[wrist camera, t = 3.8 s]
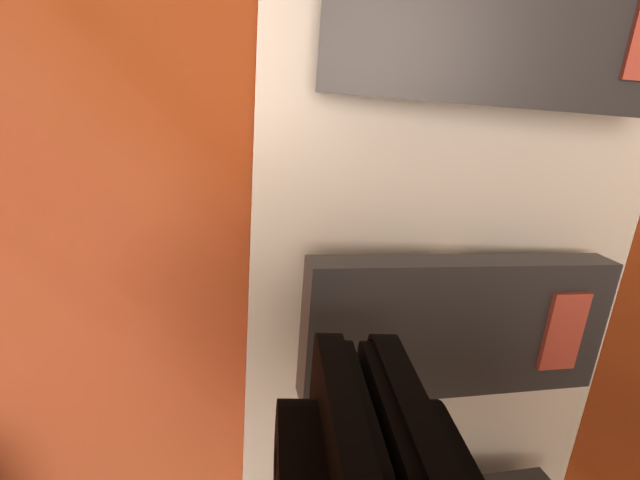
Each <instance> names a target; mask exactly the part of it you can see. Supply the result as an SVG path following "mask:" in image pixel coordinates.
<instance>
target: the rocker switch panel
mask: <svg viewBox="0 0 640 480" xmlns="http://www.w3.org/2000/svg"><path fill="white" fill-rule="evenodd" d="M321 2H322V0H258V26H257V56H256V87H255V117H254V147H253V177H252V208H251V238H250V268H249V299H248V329H247V359H246V390H245V420H244V450H243V480H273V470H274V436H275V417H276V403H277V398H293V399H299V398H298V395H297V391H296V373H297V359H298V345H299V330H300V316H301V302H302V287H303V273H304V259H305V255H326V254H504V253H598V254H600V255H602V256H605V257H607V258H609V259H611V260H614V261H616V262H618V263H620V264H623V268H622V272H621V275H620V279H619V282H618V286H617V289H616V293H615V296H614V300H613V303H612V307H611V310H610V314H609V317H608V321H607V324H606V328H605V331H604V335H603V338H602V342H601V345H600V349H599V352H598V356H597V359H596V363H595V366H594V370H593V373H592V377H591V380H590V384H589V386H586V387H575V388H563V389H551V390H539V391H527V392H515V393H504V394H492V395H480V396H468V397H456V398H444V399H439V400H441V401H442V402H443V403H444V405H445V406H446V408H447V410H448V412H449V413H450V415H451V417H452V419H453V421H454V423H455V425H456V427H457V428H458V430H459V432H460V434H461V436H462V438H463V440H464V441H465V443H466V445H467V447H468V449H469V451H470V453H471V455H472V456H473V458H474V460H475V462H476V464H477V466H478V468H479V469H480V471H481V473H482V474H488V473H495V472H503V471H511V470H519V469H527V468H534V467H540V468H541V469H542V470H543V471H544V472H545V473H546V474H547V476H548V477H549V478H550V479H551V480H564V477H565V473H566V470H567V466H568V463H569V460H570V456H571V453H572V449H573V446H574V442H575V439H576V435H577V432H578V428H579V425H580V421H581V418H582V414H583V411H584V407H585V404H586V400H587V397H588V393H589V390H590V386H591V383H592V379H593V376H594V372H595V369H596V365H597V362H598V359H599V355H600V352H601V348H602V345H603V341H604V338H605V334H606V331H607V327H608V324H609V320H610V317H611V313H612V310H613V306H614V303H615V299H616V296H617V292H618V289H619V285H620V282H621V278H622V275H623V271H624V268H625V265H626V261H627V258H628V254H629V251H630V247H631V244H632V240H633V237H634V233H635V230H636V226H637V223H638V219H639V216H640V118H633V117H621V116H608V115H595V114H583V113H570V112H558V111H545V110H533V109H520V108H507V107H495V106H482V105H470V104H457V103H445V102H432V101H419V100H407V99H394V98H382V97H369V96H356V95H344V94H331V93H319V92H315V88H316V74H317V60H318V45H319V31H320V16H321Z"/></svg>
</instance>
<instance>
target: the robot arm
mask: <svg viewBox="0 0 640 480" xmlns="http://www.w3.org/2000/svg"><path fill="white" fill-rule="evenodd" d="M273 480H485V479H484V477H483V475H482V473H481V471H480V469H479V468H478V466H477V464H476V462H475V460H474V458H473V456H472V455H471V453H470V451H469V449H468V447H467V445H466V443H465V441H464V440H463V438H462V436H461V434H460V432H459V430H458V428H457V427H456V425H455V423H454V421H453V419H452V417H451V415H450V413H449V412H448V410H447V408H446V406H445V405H444V403H443V402H442V401H441V400H439V399H429V397H428V395H427V393H426V391H425V389H424V387H423V385H422V383H421V381H420V379H419V377H418V375H417V373H416V371H415V369H414V367H413V365H412V363H411V361H410V359H409V357H408V355H407V353H406V351H405V349H404V347H403V345H402V343H401V341H400V339H399V337H398V335H397V334H369V336H368V339H367V341H359V344H358V350H357V352H356V349H355V346H354V343H353V341H352V340H344V336H343V334H342V333H315V336H314V344H313V356H312V368H311V380H310V393H309V399H293V398H277V403H276V417H275V436H274V470H273Z"/></svg>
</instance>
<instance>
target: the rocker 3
mask: <svg viewBox="0 0 640 480" xmlns="http://www.w3.org/2000/svg"><path fill="white" fill-rule="evenodd" d="M482 475H483V477H484V479H485V480H551V479H550V478H549V477H548V476H547V474H546V473H545V472H544V471H543V470H542V469H541V468H540V467H534V468H527V469H519V470H511V471H503V472H495V473H488V474H482Z"/></svg>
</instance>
